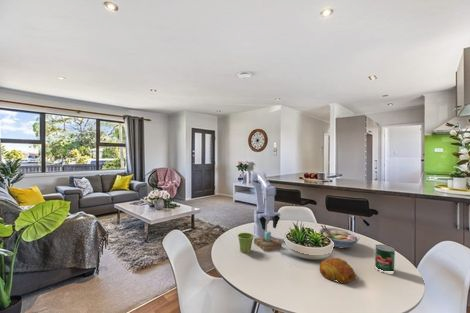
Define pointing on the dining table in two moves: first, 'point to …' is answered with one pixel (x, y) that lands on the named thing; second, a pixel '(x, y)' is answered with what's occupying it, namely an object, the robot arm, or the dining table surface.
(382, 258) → the canned tomato
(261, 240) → the socket block
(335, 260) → the golden brown oval lump
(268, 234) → the peg
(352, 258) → the dining table surface
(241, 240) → the plant pot
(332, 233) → the ramen bowl
